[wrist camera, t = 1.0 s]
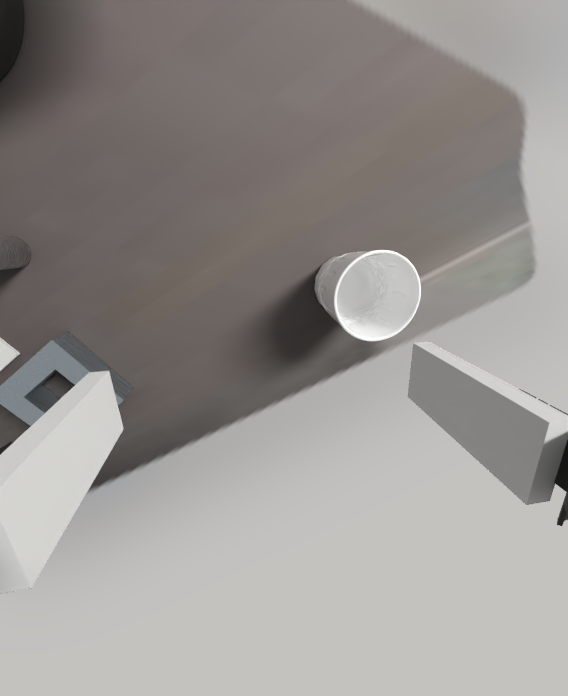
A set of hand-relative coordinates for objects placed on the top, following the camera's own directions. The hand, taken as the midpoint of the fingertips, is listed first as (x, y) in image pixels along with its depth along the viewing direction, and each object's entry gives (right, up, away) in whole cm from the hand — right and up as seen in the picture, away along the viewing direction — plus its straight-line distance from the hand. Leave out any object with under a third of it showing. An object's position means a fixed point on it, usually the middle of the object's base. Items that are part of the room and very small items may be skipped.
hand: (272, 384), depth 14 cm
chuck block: (-23, -3, +22) cm, 32 cm away
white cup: (+7, +9, +23) cm, 26 cm away
